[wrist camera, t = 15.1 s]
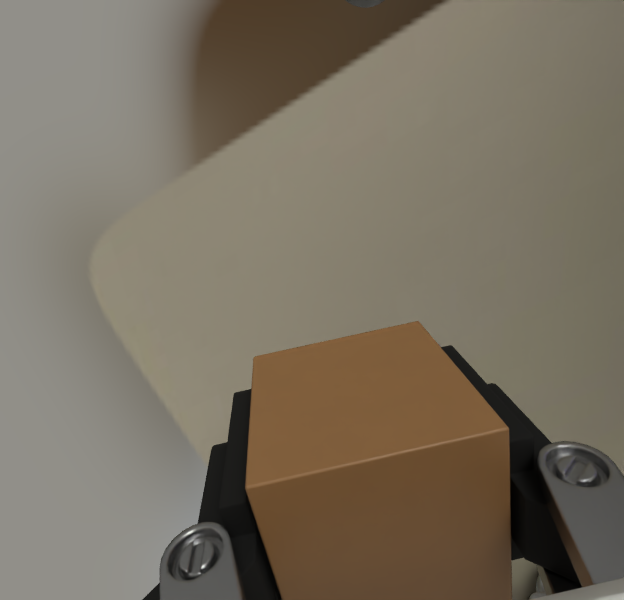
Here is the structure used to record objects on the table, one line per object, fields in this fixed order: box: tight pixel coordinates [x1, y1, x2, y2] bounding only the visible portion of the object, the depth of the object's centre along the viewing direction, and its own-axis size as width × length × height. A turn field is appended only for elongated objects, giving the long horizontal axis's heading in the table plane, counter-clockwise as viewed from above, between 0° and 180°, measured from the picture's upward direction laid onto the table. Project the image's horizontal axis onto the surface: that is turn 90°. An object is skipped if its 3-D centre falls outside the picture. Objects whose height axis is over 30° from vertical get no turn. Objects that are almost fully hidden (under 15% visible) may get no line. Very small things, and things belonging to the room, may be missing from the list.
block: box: [245, 321, 512, 600], centre depth 10 cm, size 5×5×5 cm
